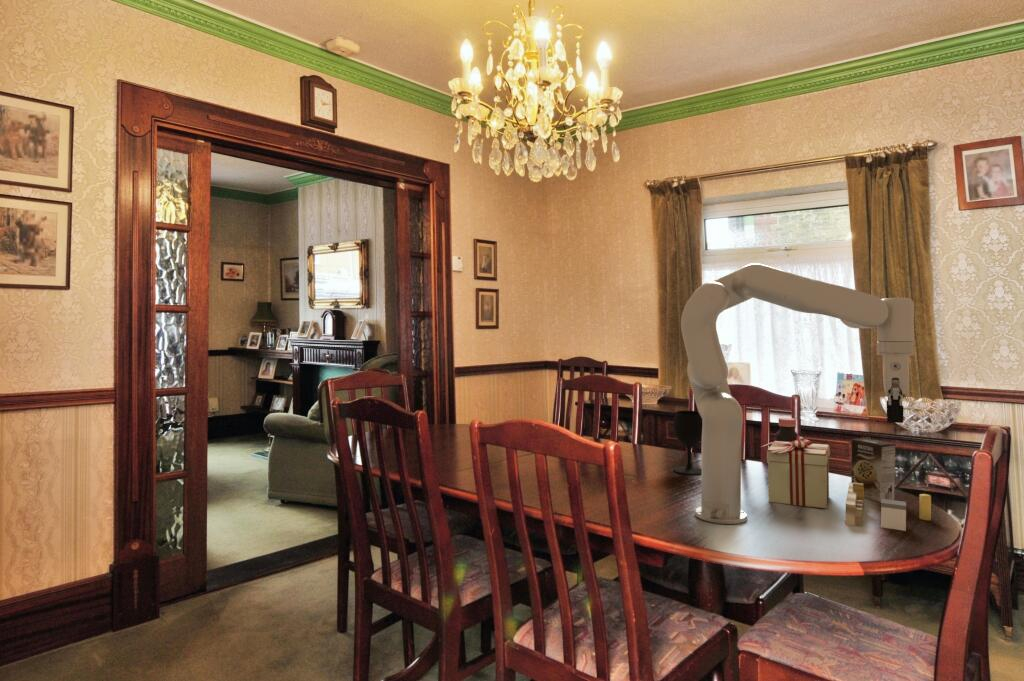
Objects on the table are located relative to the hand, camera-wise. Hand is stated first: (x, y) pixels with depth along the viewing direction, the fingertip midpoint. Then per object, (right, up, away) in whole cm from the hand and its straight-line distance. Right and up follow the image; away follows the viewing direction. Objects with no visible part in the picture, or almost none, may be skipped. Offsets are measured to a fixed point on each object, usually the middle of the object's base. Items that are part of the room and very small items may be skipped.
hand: (894, 419), depth 145 cm
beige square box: (0, -26, +1) cm, 26 cm away
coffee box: (+10, -26, +26) cm, 38 cm away
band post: (+12, -26, +6) cm, 29 cm away
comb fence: (-4, -26, +12) cm, 29 cm away
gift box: (-13, -26, +24) cm, 38 cm away
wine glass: (-33, -25, +57) cm, 70 cm away
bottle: (-7, -26, +42) cm, 50 cm away
